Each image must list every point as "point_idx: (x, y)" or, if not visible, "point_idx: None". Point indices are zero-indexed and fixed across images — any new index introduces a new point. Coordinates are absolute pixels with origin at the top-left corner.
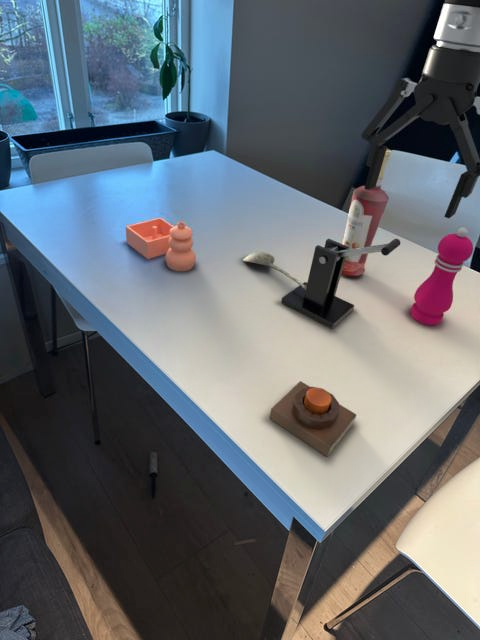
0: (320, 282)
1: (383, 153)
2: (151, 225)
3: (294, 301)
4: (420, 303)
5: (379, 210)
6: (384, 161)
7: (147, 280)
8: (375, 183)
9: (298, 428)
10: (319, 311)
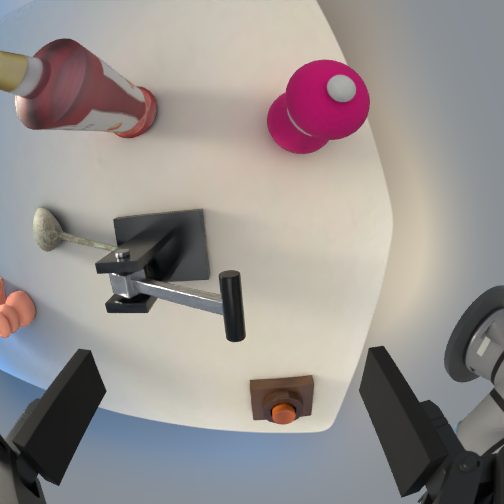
0: None
1: (44, 444)
2: None
3: None
4: (290, 151)
5: (93, 92)
6: None
7: (42, 349)
8: (88, 365)
9: None
10: (177, 269)
